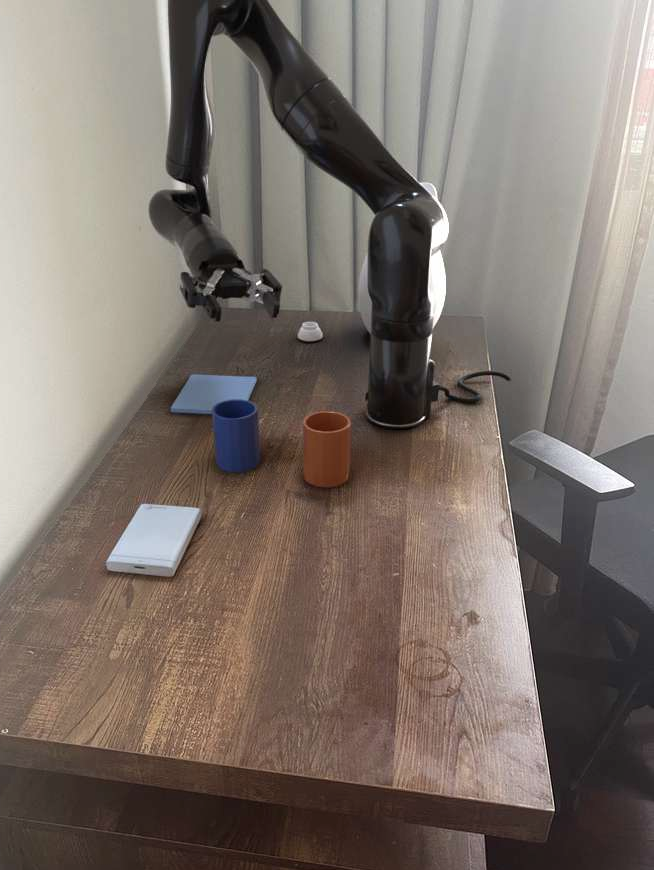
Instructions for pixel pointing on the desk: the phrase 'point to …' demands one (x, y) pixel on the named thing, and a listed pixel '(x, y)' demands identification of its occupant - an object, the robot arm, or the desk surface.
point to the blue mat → (211, 392)
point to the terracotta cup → (326, 448)
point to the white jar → (310, 332)
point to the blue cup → (236, 435)
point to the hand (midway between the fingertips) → (247, 314)
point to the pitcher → (435, 281)
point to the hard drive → (155, 540)
